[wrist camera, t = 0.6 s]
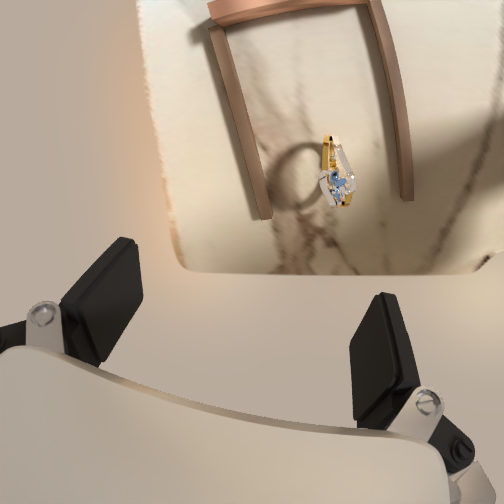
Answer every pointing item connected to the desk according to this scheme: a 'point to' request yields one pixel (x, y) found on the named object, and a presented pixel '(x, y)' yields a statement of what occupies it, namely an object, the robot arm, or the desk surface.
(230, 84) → the channel
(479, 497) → the robot arm
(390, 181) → the desk surface
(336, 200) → the ring
